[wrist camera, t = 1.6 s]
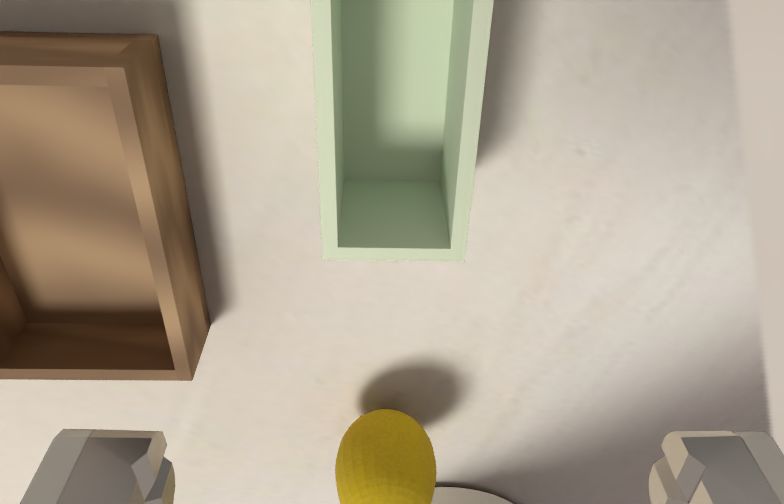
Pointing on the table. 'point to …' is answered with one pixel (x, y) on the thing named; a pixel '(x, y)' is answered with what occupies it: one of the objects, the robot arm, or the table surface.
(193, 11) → the table surface
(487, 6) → the sage crate
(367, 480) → the lemon
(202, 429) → the table surface
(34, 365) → the walnut crate
